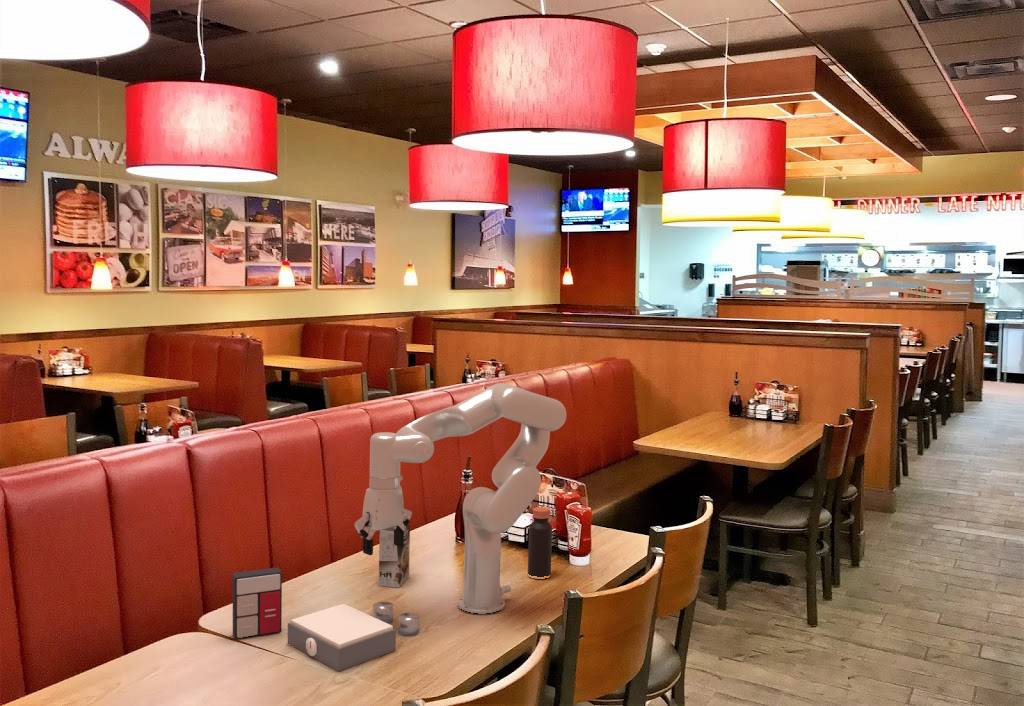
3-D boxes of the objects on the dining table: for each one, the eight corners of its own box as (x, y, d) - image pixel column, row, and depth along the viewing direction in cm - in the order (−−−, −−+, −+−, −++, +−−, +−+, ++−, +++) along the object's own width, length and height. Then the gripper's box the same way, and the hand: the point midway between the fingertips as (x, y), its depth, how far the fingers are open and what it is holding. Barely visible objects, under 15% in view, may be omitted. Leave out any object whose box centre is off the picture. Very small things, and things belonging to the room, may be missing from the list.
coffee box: (399, 588, 242) (400, 531, 241) (377, 586, 244) (378, 529, 242) (410, 577, 251) (411, 522, 250) (388, 575, 252) (389, 520, 251)
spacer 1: (384, 615, 223) (384, 600, 222) (396, 620, 219) (397, 605, 219) (368, 620, 219) (368, 605, 219) (381, 626, 216) (381, 610, 215)
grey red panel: (235, 640, 205) (235, 578, 203) (231, 634, 208) (232, 573, 207) (282, 633, 210) (282, 572, 208) (278, 626, 213) (278, 567, 212)
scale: (343, 625, 215) (344, 602, 215) (395, 650, 202) (395, 626, 201) (285, 644, 203) (285, 620, 203) (336, 672, 190) (336, 646, 189)
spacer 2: (409, 626, 216) (410, 611, 216) (423, 632, 213) (423, 616, 212) (394, 632, 212) (394, 616, 212) (407, 638, 209) (407, 622, 209)
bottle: (554, 575, 256) (557, 508, 255) (543, 581, 251) (545, 513, 249) (535, 570, 260) (537, 505, 258) (523, 577, 254) (525, 509, 252)
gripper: (402, 475, 225) (400, 539, 227) (347, 485, 213) (346, 553, 214) (421, 480, 220) (419, 546, 221) (366, 490, 207) (364, 560, 209)
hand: (383, 549), depth 218 cm, fingers open, 9 cm apart
